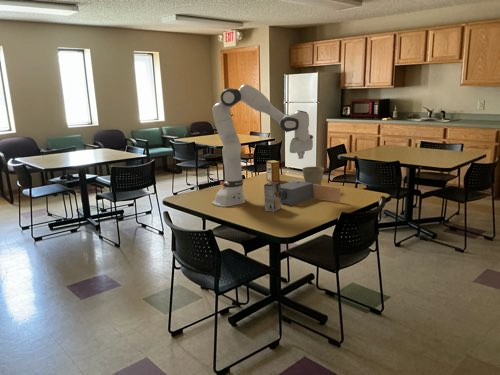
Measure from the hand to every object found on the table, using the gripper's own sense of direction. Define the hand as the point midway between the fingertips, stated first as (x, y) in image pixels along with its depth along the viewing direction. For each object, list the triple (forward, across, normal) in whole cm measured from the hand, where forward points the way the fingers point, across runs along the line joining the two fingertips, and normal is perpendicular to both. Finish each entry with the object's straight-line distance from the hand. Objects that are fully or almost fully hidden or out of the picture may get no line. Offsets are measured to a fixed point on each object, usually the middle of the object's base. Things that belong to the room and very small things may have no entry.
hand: (300, 158), depth 258 cm
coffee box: (+28, -28, -1) cm, 39 cm away
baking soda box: (+28, +33, +50) cm, 66 cm away
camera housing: (+27, -3, +2) cm, 27 cm away
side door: (+26, +8, -15) cm, 31 cm away
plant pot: (+27, +24, +6) cm, 37 cm away
